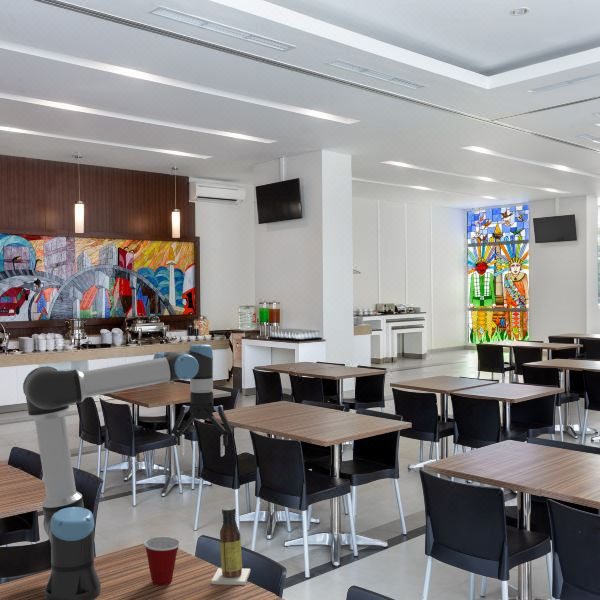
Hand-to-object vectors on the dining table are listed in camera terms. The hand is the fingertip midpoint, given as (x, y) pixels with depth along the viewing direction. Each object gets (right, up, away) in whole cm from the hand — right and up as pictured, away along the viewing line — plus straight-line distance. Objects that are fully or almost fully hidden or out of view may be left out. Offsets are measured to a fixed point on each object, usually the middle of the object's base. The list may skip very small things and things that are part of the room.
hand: (202, 455), depth 230 cm
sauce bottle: (+12, -32, -20) cm, 39 cm away
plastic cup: (-9, -33, -23) cm, 41 cm away
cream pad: (+12, -32, -20) cm, 40 cm away
